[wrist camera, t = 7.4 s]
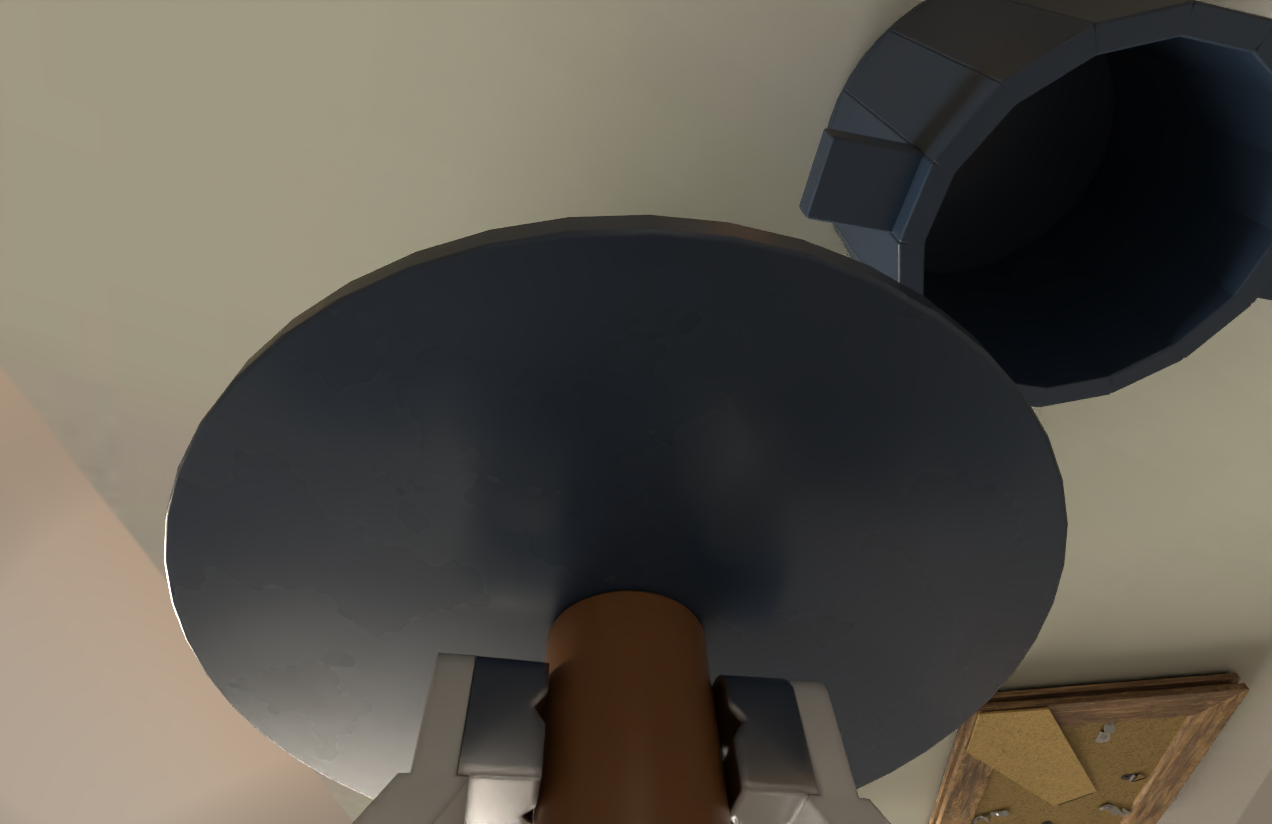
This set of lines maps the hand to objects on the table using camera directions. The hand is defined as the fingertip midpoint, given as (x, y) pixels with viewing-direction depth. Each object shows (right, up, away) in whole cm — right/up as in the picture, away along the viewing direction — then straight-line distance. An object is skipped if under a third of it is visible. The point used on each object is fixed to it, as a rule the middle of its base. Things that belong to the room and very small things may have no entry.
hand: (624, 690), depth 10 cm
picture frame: (+34, -24, +48) cm, 64 cm away
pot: (+14, +15, +19) cm, 27 cm away
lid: (0, +1, +1) cm, 1 cm away
